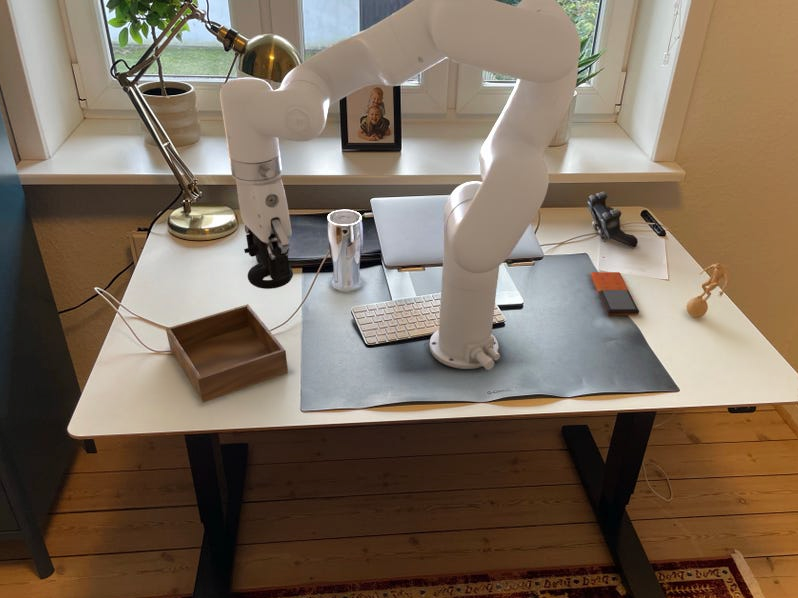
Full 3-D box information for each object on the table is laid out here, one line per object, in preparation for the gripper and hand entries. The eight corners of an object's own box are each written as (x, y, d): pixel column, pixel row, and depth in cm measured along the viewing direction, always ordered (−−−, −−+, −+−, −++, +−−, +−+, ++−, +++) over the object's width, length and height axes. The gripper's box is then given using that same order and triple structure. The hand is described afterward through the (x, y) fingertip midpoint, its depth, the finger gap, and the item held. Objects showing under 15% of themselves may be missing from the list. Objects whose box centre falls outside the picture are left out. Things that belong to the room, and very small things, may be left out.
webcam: (300, 283, 124) (294, 229, 118) (257, 294, 121) (249, 240, 115) (283, 262, 129) (277, 209, 123) (241, 272, 126) (233, 219, 120)
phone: (620, 270, 158) (640, 311, 146) (619, 276, 159) (639, 316, 147) (590, 270, 158) (608, 311, 146) (589, 276, 158) (607, 316, 147)
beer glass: (358, 295, 149) (356, 228, 140) (325, 290, 150) (321, 223, 141) (367, 277, 154) (367, 211, 145) (335, 272, 155) (332, 207, 146)
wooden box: (288, 372, 129) (285, 350, 126) (202, 402, 122) (198, 379, 119) (251, 325, 140) (248, 303, 136) (170, 350, 133) (165, 328, 130)
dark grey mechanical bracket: (589, 226, 181) (576, 194, 175) (615, 213, 180) (603, 180, 174) (613, 261, 169) (600, 227, 163) (641, 247, 168) (629, 212, 162)
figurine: (676, 304, 151) (691, 252, 144) (703, 302, 152) (720, 251, 145) (694, 328, 145) (711, 275, 137) (723, 326, 146) (741, 273, 138)
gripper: (304, 180, 109) (313, 282, 120) (255, 141, 120) (268, 237, 131) (256, 192, 106) (270, 296, 117) (211, 150, 117) (227, 248, 128)
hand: (269, 264), depth 124 cm, fingers closed on webcam, 7 cm apart
